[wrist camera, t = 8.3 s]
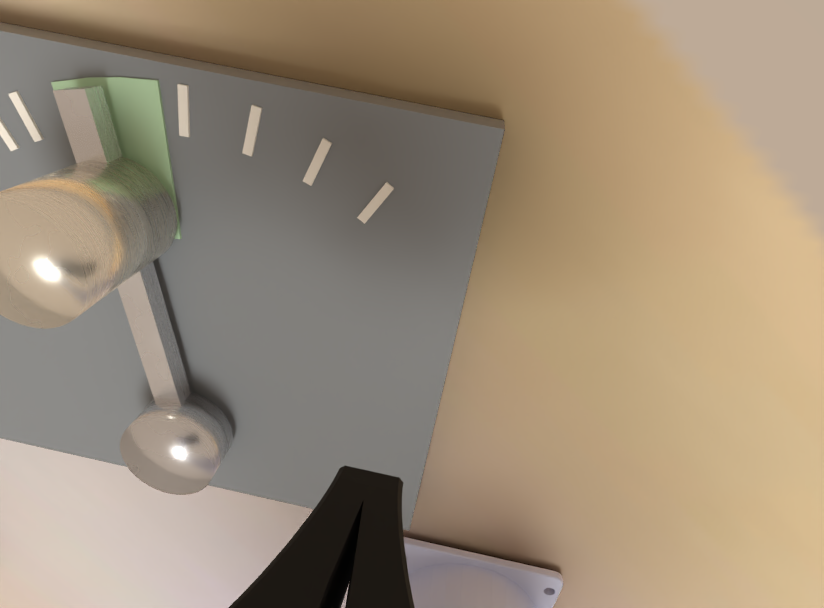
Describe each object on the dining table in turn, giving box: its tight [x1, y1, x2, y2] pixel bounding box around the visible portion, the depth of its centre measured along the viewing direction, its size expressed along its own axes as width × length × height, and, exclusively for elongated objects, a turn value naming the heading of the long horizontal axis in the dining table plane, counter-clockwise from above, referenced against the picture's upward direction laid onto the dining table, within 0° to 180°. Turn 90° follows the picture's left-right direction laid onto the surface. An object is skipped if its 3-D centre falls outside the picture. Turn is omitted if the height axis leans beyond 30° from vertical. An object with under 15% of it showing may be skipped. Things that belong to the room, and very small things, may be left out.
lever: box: [0, 86, 233, 495], centre depth 18 cm, size 15×4×5 cm, turn 3°
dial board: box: [0, 22, 505, 530], centre depth 21 cm, size 17×19×2 cm
